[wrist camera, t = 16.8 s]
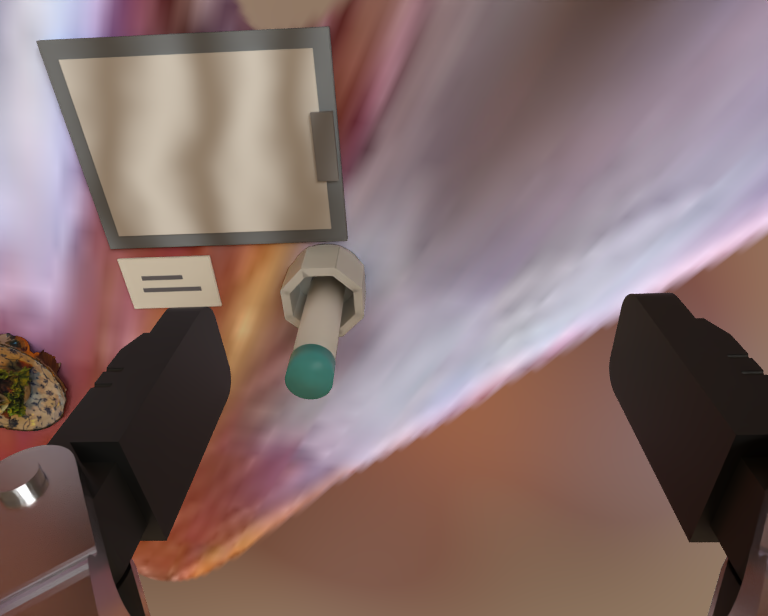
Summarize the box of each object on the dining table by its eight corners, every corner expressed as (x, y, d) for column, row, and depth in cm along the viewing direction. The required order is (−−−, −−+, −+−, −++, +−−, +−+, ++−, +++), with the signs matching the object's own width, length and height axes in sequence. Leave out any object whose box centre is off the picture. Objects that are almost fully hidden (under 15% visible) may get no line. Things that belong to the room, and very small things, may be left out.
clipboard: (329, 26, 35) (327, 27, 34) (347, 237, 43) (346, 243, 42) (41, 40, 35) (30, 41, 34) (113, 245, 44) (107, 252, 43)
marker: (345, 264, 44) (330, 361, 32) (348, 295, 45) (334, 398, 34) (309, 265, 44) (281, 363, 32) (313, 296, 45) (288, 399, 34)
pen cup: (362, 242, 43) (360, 266, 39) (367, 307, 47) (365, 335, 43) (286, 244, 43) (276, 269, 40) (296, 309, 47) (288, 338, 43)
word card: (118, 258, 44) (117, 259, 44) (209, 255, 44) (208, 256, 44) (135, 307, 47) (134, 308, 47) (221, 304, 47) (221, 306, 46)
